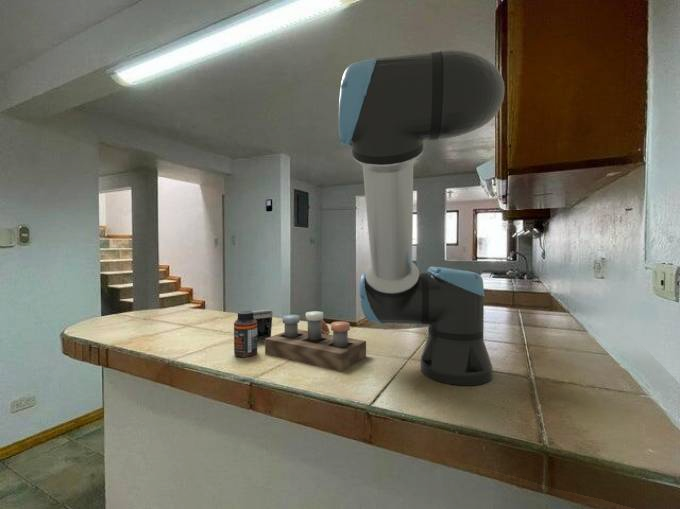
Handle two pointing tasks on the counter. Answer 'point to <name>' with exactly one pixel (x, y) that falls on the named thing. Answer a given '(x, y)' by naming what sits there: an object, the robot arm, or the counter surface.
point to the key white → (314, 324)
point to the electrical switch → (263, 323)
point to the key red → (340, 334)
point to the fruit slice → (324, 327)
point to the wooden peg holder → (316, 350)
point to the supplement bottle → (245, 334)
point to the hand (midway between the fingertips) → (397, 242)
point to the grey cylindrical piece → (291, 325)
